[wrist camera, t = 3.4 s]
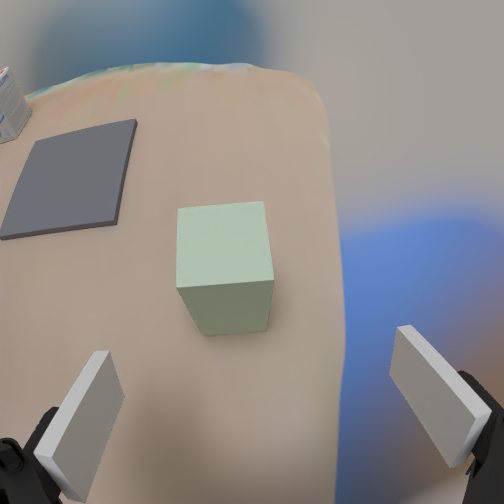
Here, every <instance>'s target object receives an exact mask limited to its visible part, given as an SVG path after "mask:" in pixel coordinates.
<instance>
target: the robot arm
mask: <svg viewBox="0 0 504 504" xmlns="http://www.w3.org/2000/svg"><path fill="white" fill-rule="evenodd" d="M389 375H390V377H391V378H392V379H393V381H394V382H395V384H396V386H397V387H398V388H399V390H400V391H401V393H402V394H403V396H404V397H405V399H406V400H407V402H408V403H409V405H410V407H411V408H412V410H413V411H414V413H415V414H416V416H417V417H418V419H419V420H420V422H421V423H422V425H423V426H424V428H425V430H426V431H427V433H428V434H429V435H430V437H431V439H432V440H433V442H434V443H435V445H436V447H437V448H438V450H439V451H440V453H441V455H442V456H443V458H444V460H445V461H446V463H447V464H448V466H449V468H453V467H455V466H457V465H460V464H462V463H464V462H466V460H467V459H468V457H469V455H470V453H471V452H472V453H473V455H474V456H475V459H474V460H473V462H472V464H471V465H470V467H469V469H468V470H467V472H466V475H468V474H469V472H470V471H471V472H470V476H469V480H468V485H467V489H466V492H465V496H464V499H463V503H462V504H504V409H503V408H502V407H501V406H500V405H499V404H498V402H496V400H495V399H494V398H493V397H492V396H491V395H490V394H489V393H488V392H487V391H486V390H484V388H483V387H482V386H481V384H479V382H478V381H477V380H475V378H474V377H473V376H472V375H470V374H468V373H466V372H464V371H459V372H456V371H455V370H454V369H453V368H452V367H451V366H450V365H449V364H448V363H447V361H446V360H445V359H444V358H443V357H442V356H441V355H440V354H439V353H438V352H437V351H436V350H435V349H434V348H433V347H432V346H431V345H430V344H429V343H428V342H427V341H426V340H425V339H424V338H423V337H422V336H421V335H420V334H419V333H418V332H417V331H416V330H415V329H414V328H413V327H412V326H411V325H407V326H401V327H397V330H396V337H395V343H394V350H393V356H392V361H391V367H390V372H389ZM124 398H125V396H124V394H123V391H122V388H121V385H120V382H119V379H118V376H117V373H116V370H115V367H114V364H113V360H112V357H111V354H110V351H95V352H94V353H93V355H92V356H91V358H90V359H89V361H88V363H87V364H86V366H85V367H84V369H83V370H82V372H81V373H80V375H79V377H78V378H77V380H76V381H75V383H74V385H73V386H72V388H71V389H70V391H69V393H68V394H67V396H66V398H65V399H64V401H63V402H62V404H61V406H60V407H52V408H51V409H50V410H48V411H47V412H46V413H45V414H44V415H43V417H42V419H41V420H40V422H39V424H38V425H37V427H36V428H35V431H34V432H33V433H32V435H31V437H30V438H29V440H28V442H27V443H26V445H25V447H24V448H23V450H22V448H21V447H20V445H19V444H18V442H17V441H16V440H14V439H13V438H2V439H0V504H63V503H62V501H61V500H60V499H59V495H60V492H61V491H62V492H63V494H64V495H65V496H66V497H67V498H68V499H70V500H74V501H78V502H83V503H85V502H86V499H87V496H88V494H89V491H90V488H91V485H92V482H93V479H94V476H95V474H96V471H97V468H98V465H99V462H100V460H101V457H102V454H103V452H104V449H105V446H106V444H107V441H108V438H109V436H110V433H111V431H112V428H113V425H114V423H115V420H116V418H117V415H118V413H119V410H120V408H121V405H122V403H123V400H124Z"/></svg>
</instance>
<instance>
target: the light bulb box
mask: <svg viewBox="0 0 504 504" xmlns="http://www.w3.org/2000/svg"><path fill="white" fill-rule="evenodd" d="M31 114H32V113H31V111H30V109H29V107H28V105H27V103H26V101H25V99H24V97H23V95H22V93H21V91H20V89H19V86H18V84H17V82H16V81H15V78H14V75H13V73H12V71H11V69H10V67H7V68H5V69H2V70H0V144H1V143H4V142H7V141H11V140H14V139H17V137H18V136H19V134H20V132H21V131H22V129H23V127H24V126H25V124H26V122H27V121H28V119H29V118H30V116H31Z"/></svg>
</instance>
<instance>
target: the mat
mask: <svg viewBox="0 0 504 504" xmlns="http://www.w3.org/2000/svg"><path fill="white" fill-rule="evenodd" d="M136 126H137V121H136V119H131V120H125V121H120V122H114V123H109V124H104V125H100V126H95V127H90V128H86V129H82V130H77V131H73V132H69V133H65V134H61V135H57V136H54V137H50V138H46V139H43V140H39V141H36V142H35V144H34V146H33V148H32V150H31V152H30V154H29V157H28V159H27V161H26V163H25V166H24V168H23V170H22V173H21V175H20V177H19V180H18V182H17V185H16V187H15V190H14V192H13V195H12V198H11V200H10V203H9V206H8V209H7V211H6V214H5V217H4V220H3V223H2V226H1V229H0V239H1V240H7V239H13V238H20V237H27V236H34V235H41V234H48V233H55V232H62V231H70V230H77V229H85V228H93V227H101V226H110V225H117V219H118V213H119V207H120V201H121V195H122V190H123V185H124V180H125V175H126V170H127V165H128V160H129V156H130V151H131V147H132V142H133V138H134V134H135V130H136Z"/></svg>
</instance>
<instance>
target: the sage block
mask: <svg viewBox="0 0 504 504" xmlns="http://www.w3.org/2000/svg"><path fill="white" fill-rule="evenodd" d="M273 284H274V275H273V267H272V260H271V252H270V245H269V238H268V231H267V223H266V216H265V209H264V202H263V201H258V202H244V203H232V204H220V205H209V206H198V207H187V208H178V223H177V258H176V288H177V290H178V292H179V294H180V296H181V297H182V299H183V301H184V303H185V305H186V306H187V308H188V310H189V312H190V314H191V315H192V317H193V319H194V321H195V322H196V324H197V326H198V328H199V329H200V331H201V333H202V334H203V336H216V335H230V334H242V333H254V332H265V331H267V326H268V320H269V313H270V306H271V299H272V292H273Z"/></svg>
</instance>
